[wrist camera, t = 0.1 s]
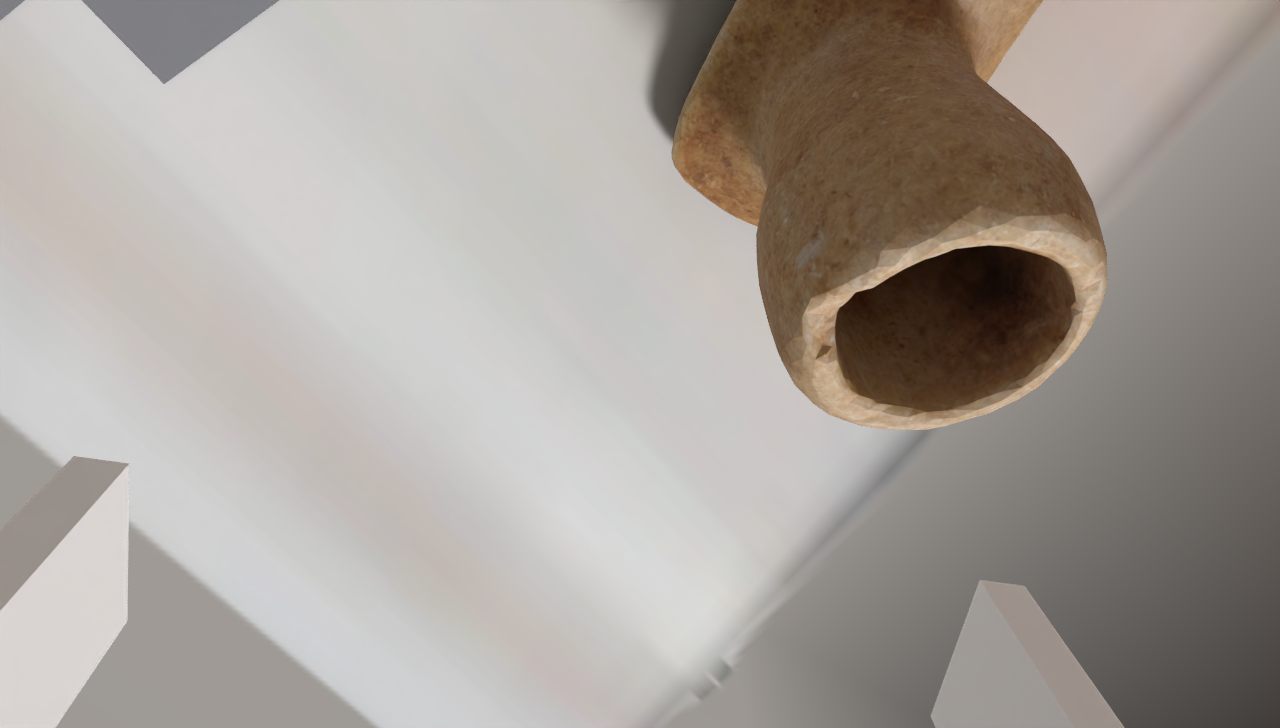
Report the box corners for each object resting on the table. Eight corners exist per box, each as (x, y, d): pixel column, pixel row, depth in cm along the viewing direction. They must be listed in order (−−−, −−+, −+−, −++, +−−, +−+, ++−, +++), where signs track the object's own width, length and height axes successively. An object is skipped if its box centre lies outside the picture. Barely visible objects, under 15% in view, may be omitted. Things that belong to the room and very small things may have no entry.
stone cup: (874, 264, 45) (949, 523, 34) (634, 150, 42) (627, 396, 30) (1127, -48, 37) (1344, 158, 25) (851, -224, 33) (955, -78, 22)
